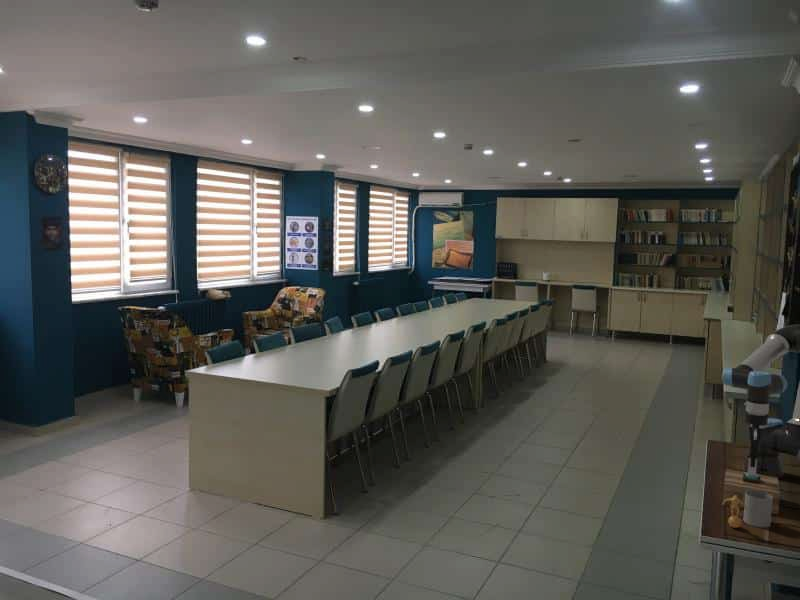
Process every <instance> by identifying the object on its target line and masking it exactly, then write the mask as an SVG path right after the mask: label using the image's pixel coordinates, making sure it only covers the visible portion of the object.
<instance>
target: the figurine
mask: <svg viewBox="0 0 800 600" xmlns="http://www.w3.org/2000/svg"><path fill="white" fill-rule="evenodd" d="M726 501H731V502H732V504H733V505H731V506H730V511H731V512H730V513H731V516H730V517H729V518H728V524H729V526H730V527H732V528H734V529H737V528H740V527H741V526H742V520H741V518H740V517H739V515H740V514H739V513H740V507H739V506H738V507H737V505H738V503H740V504H742V505H744V506H745V508H746V509H747V510H748V508H747V507H746V505H745V504H744V503H742V502H741V501H740V500H738V498H737V495H735V496H734V497H733V498H730V499H725V500H724V502H723V501H722V503H721V506H723V505H724V503H725V502H726ZM734 510H735V511H736V513H735V515H734ZM748 512H749V511H748Z"/></svg>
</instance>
